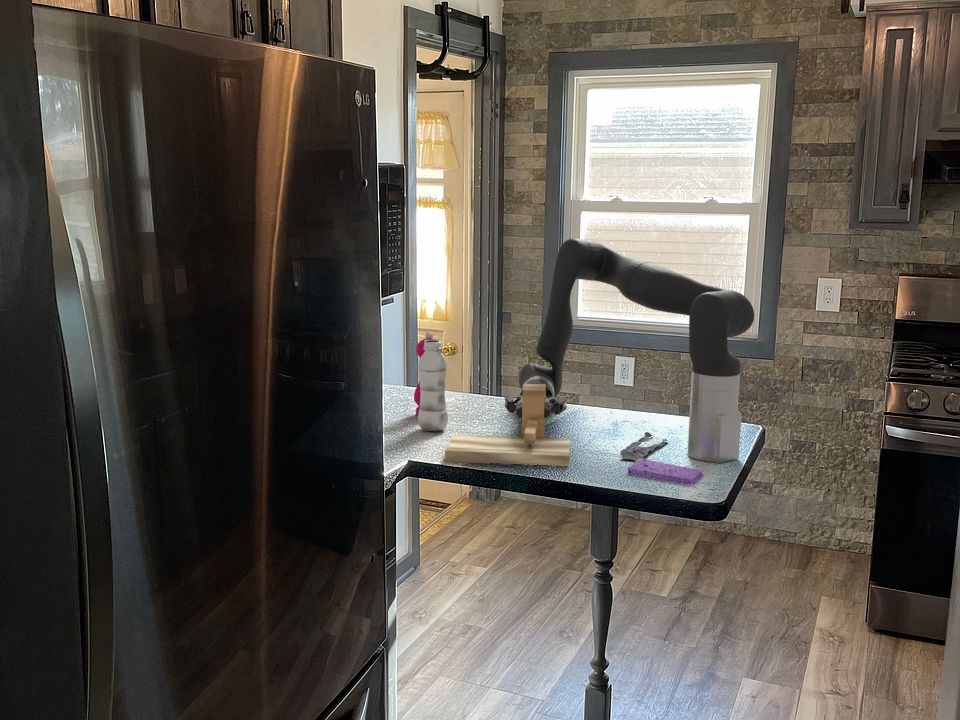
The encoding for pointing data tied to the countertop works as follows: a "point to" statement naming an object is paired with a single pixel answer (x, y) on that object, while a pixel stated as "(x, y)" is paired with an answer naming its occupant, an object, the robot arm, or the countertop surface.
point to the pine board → (507, 450)
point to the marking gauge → (533, 413)
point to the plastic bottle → (432, 387)
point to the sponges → (664, 471)
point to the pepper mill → (420, 352)
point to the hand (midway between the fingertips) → (533, 413)
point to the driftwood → (639, 448)
